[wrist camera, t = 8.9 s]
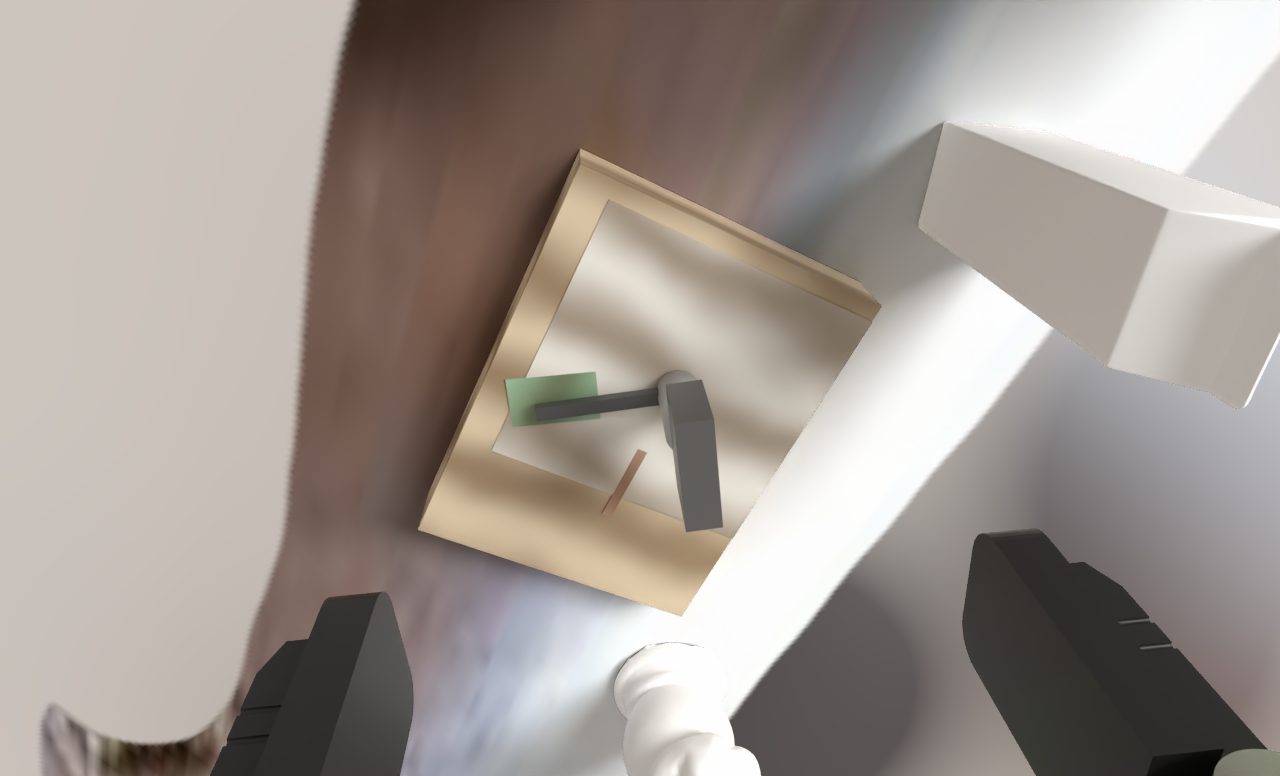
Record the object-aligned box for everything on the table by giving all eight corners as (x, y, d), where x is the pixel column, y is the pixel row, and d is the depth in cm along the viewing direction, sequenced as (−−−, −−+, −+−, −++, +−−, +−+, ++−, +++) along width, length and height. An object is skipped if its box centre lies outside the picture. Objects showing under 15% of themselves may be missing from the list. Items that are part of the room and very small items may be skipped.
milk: (915, 227, 47) (1154, 411, 27) (943, 118, 44) (1231, 235, 24) (1015, 235, 47) (1320, 421, 28) (1049, 128, 45) (1412, 250, 25)
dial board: (580, 148, 43) (580, 164, 40) (859, 281, 48) (882, 306, 44) (428, 492, 53) (417, 530, 49) (674, 576, 57) (681, 617, 53)
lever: (694, 338, 44) (720, 418, 36) (703, 432, 47) (729, 526, 39) (527, 360, 44) (515, 445, 36) (545, 453, 47) (539, 552, 39)
